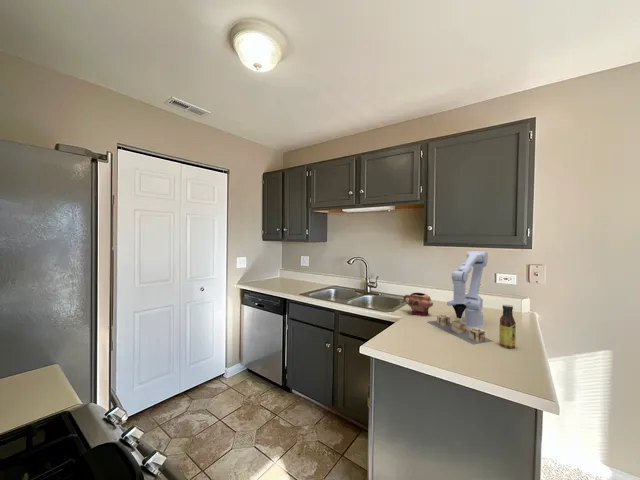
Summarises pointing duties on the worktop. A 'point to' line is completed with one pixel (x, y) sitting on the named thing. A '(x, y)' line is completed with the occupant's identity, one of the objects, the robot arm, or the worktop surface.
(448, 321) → the maple block marked 1
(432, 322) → the charcoal mat
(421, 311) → the decorative planter
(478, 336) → the maple block marked 7
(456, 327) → the plain maple block
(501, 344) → the sauce bottle
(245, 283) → the worktop surface
